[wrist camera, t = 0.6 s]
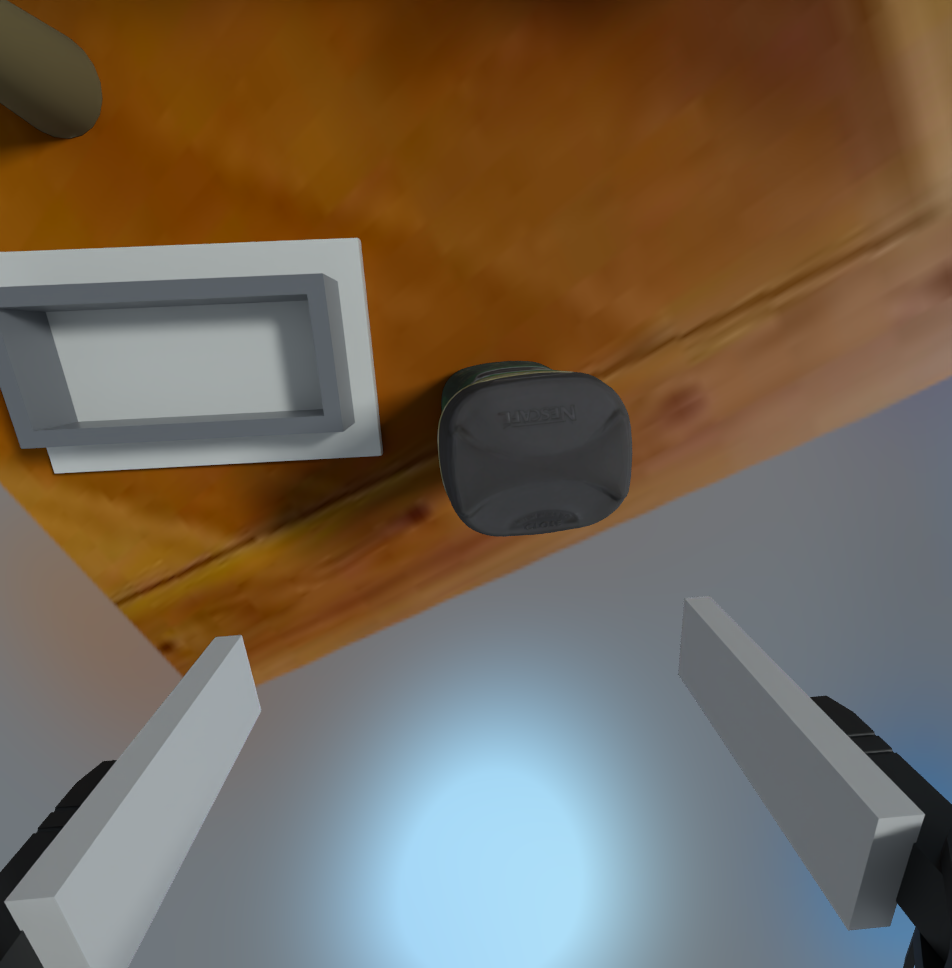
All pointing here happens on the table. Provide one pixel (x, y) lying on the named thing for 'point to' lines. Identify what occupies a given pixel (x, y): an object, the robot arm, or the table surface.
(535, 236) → the table surface
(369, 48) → the table surface
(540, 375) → the coffee jar
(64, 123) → the cork
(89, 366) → the slot well
